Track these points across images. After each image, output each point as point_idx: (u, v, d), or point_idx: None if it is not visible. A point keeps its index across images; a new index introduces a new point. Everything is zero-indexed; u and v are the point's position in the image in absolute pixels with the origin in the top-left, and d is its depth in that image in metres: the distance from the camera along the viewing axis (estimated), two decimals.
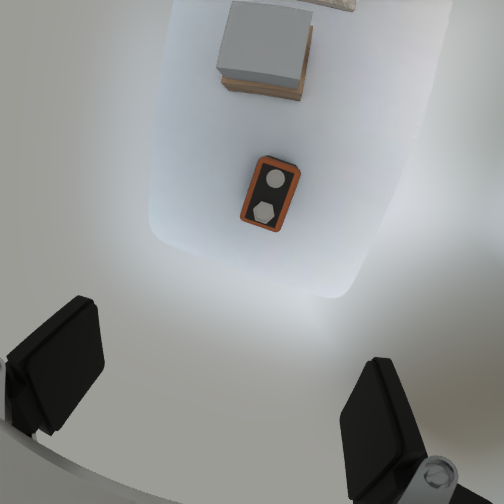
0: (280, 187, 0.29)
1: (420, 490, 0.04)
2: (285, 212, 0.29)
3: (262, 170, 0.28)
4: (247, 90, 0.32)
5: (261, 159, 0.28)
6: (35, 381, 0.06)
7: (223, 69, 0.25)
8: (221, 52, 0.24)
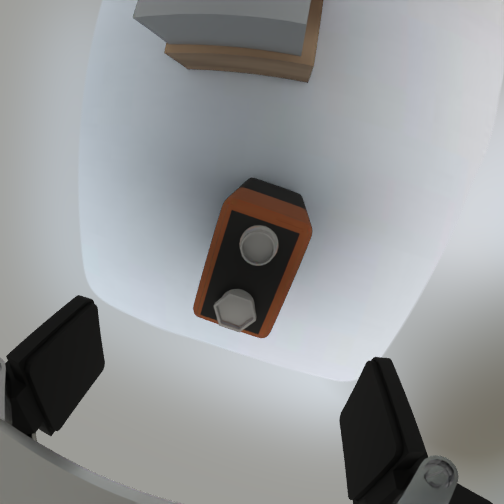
0: (269, 262, 0.14)
1: (420, 490, 0.04)
2: (279, 307, 0.15)
3: (231, 226, 0.14)
4: (215, 65, 0.18)
5: (228, 202, 0.13)
6: (35, 381, 0.06)
7: (148, 19, 0.10)
8: None
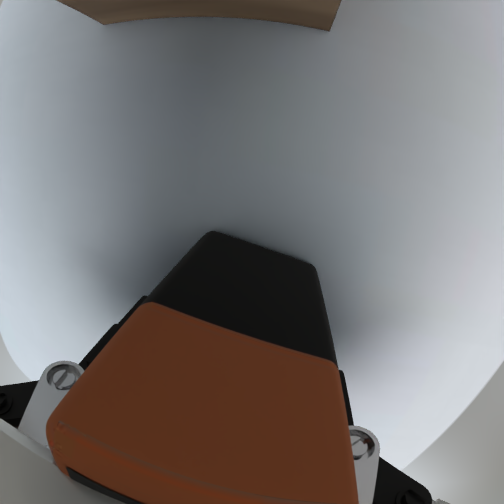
0: None
1: None
2: None
3: None
4: (140, 3, 0.07)
5: (51, 441, 0.02)
6: None
7: None
8: None
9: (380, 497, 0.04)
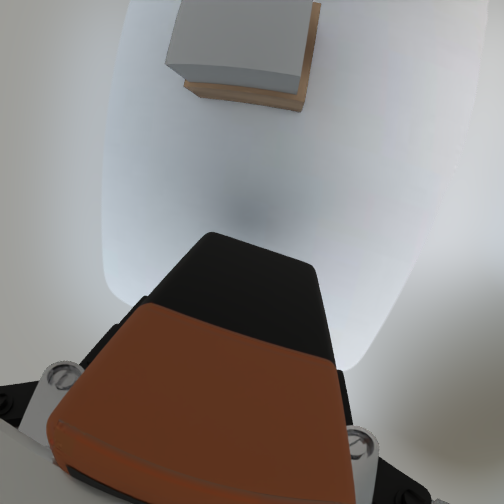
0: None
1: None
2: None
3: None
4: (224, 97, 0.23)
5: (52, 440, 0.02)
6: None
7: (177, 66, 0.15)
8: (173, 40, 0.14)
9: (379, 497, 0.04)
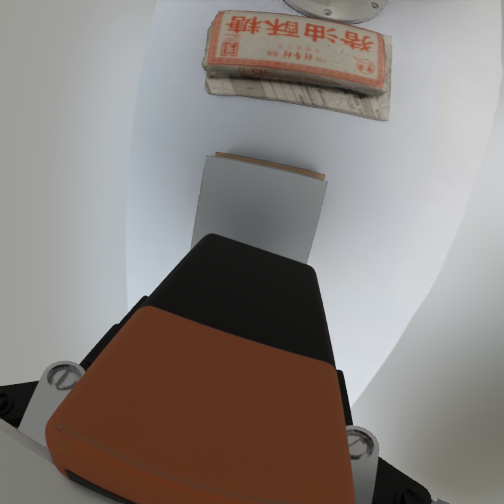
0: None
1: None
2: None
3: None
4: None
5: (50, 444, 0.02)
6: None
7: None
8: None
9: (379, 497, 0.04)
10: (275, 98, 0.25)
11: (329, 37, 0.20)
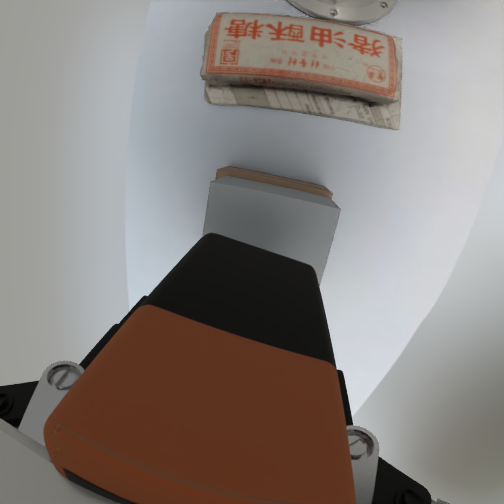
0: None
1: None
2: None
3: None
4: None
5: (49, 443, 0.02)
6: None
7: None
8: None
9: (379, 497, 0.04)
10: (280, 107, 0.24)
11: (336, 41, 0.19)
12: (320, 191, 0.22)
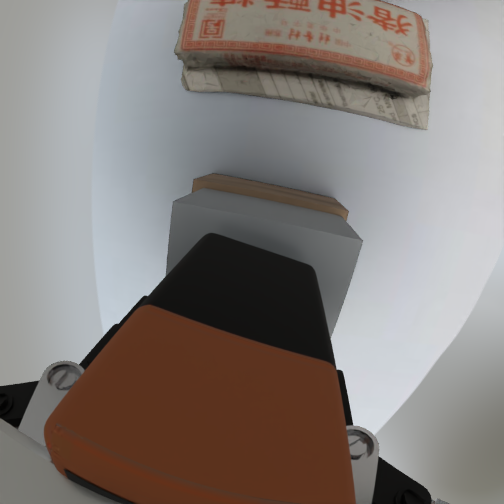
0: None
1: None
2: None
3: None
4: None
5: (49, 443, 0.02)
6: None
7: None
8: None
9: (379, 497, 0.04)
10: (277, 96, 0.18)
11: (352, 13, 0.13)
12: (332, 208, 0.16)
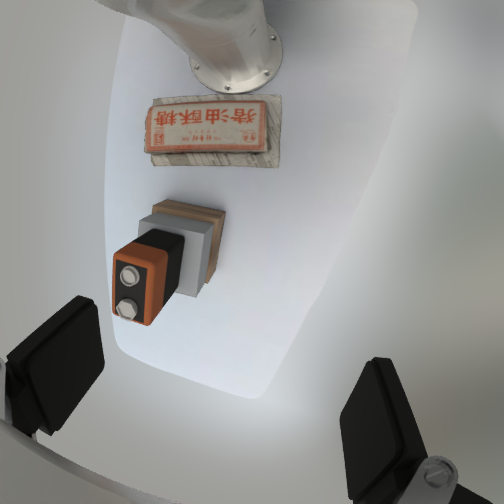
0: (137, 283, 0.25)
1: (420, 490, 0.04)
2: (149, 307, 0.26)
3: (117, 267, 0.25)
4: None
5: (114, 255, 0.25)
6: (35, 381, 0.06)
7: None
8: None
9: None
10: (196, 165, 0.39)
11: (222, 118, 0.34)
12: (211, 218, 0.37)
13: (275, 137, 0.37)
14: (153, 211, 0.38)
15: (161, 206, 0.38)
